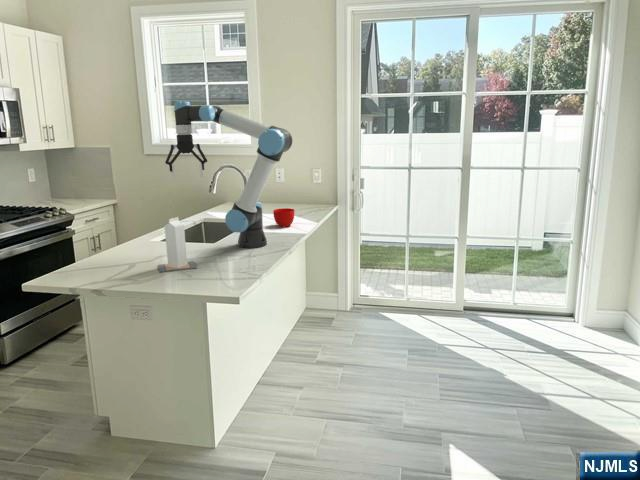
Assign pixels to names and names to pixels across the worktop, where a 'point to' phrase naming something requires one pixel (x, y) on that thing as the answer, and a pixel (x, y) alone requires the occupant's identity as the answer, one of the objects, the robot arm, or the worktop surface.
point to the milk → (175, 243)
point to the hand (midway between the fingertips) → (187, 177)
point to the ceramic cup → (284, 216)
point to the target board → (168, 269)
